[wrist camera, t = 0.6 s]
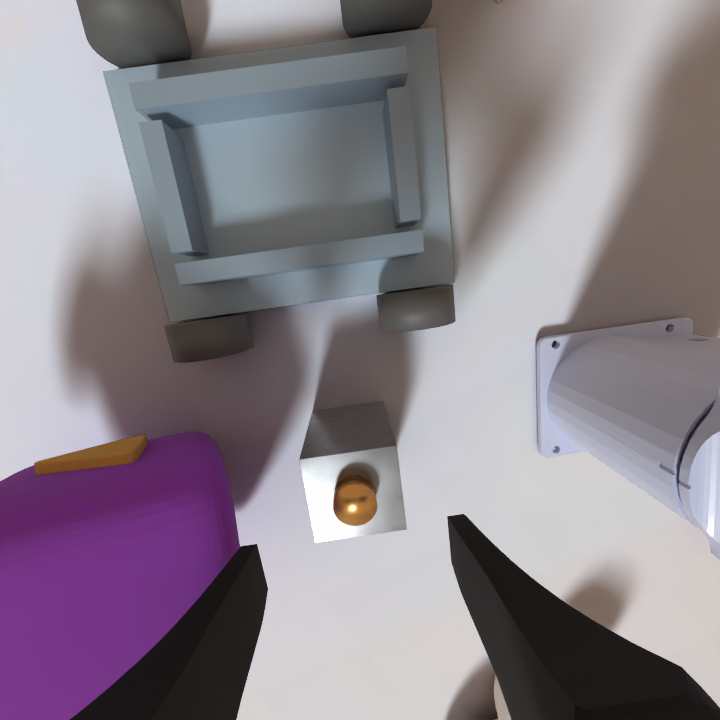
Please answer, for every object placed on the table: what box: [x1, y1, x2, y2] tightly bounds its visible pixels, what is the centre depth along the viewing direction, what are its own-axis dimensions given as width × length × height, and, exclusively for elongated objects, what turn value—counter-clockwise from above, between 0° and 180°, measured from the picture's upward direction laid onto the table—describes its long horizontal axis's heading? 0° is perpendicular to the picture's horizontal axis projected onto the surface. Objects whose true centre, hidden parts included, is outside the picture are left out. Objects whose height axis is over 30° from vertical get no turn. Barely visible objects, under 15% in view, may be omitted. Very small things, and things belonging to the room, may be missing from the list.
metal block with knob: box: [299, 401, 407, 543], centre depth 18 cm, size 4×4×7 cm
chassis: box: [76, 0, 455, 363], centre depth 16 cm, size 16×16×4 cm
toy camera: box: [0, 432, 240, 720], centre depth 14 cm, size 11×14×10 cm
